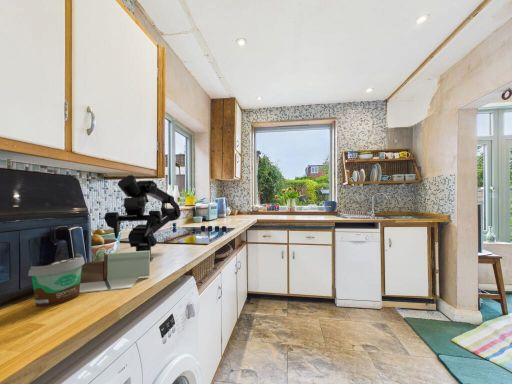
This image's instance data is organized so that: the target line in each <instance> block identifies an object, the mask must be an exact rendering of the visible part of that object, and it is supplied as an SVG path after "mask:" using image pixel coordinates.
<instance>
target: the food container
mask: <svg viewBox="0 0 512 384" xmlns="http://www.w3.org/2000/svg"><path fill="white" fill-rule="evenodd" d="M85 262H86V261H85V258H84V256H83V254H80V253H75V256H74V257H71V258H68V259H61V260H57V261H54V262H51V263H49V264H47V265H39V266H37V265H36V266H30V269H29V270H28V274H27V276H28V277H31V282H32V287H33V296H34V302H35V307H38V308H39V307H49V306H55V305H60V304H63V303H66V302H68V301H70V300H71V301H72V300H73V299H75V298H76V297H77V296H79V295H80V293H79V291H80V279H81V268H82V265H84V263H85Z"/></svg>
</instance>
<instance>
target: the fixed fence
mask: <svg viewBox="0 0 512 384" xmlns="http://www.w3.org/2000/svg"><path fill="white" fill-rule="evenodd" d="M108 254H109V253H103V260H97V261H85V263H84V265H82V268H81V279H80V283H89V282H100V281H106V280H108Z"/></svg>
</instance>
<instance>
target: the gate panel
mask: <svg viewBox="0 0 512 384" xmlns="http://www.w3.org/2000/svg"><path fill="white" fill-rule="evenodd" d="M107 254H108V280H111V279H122V278H133V277H139V278H141V277H142V278H143V277H150V276H151V266H150V265H151V262H150V251H136V250H135V251H123V252H109V253H107Z"/></svg>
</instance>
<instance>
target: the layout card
mask: <svg viewBox="0 0 512 384" xmlns="http://www.w3.org/2000/svg"><path fill="white" fill-rule="evenodd" d="M139 278H140V277H133V278H122V279H111V280H106V281H100V282H89V283H80V291H79V294H83V293H95V292H102V291H103V292H105V291H114V290H115V291H116V290H124V289H125V290H126V289H132V288H133V287H134V285H135V284H136V283H137V281H138V279H139Z"/></svg>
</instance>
